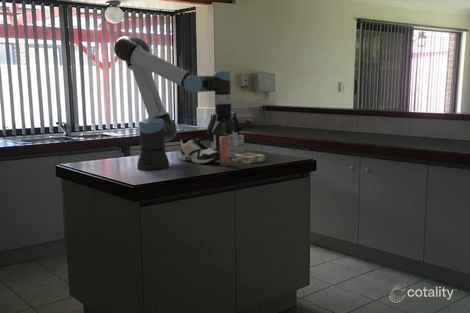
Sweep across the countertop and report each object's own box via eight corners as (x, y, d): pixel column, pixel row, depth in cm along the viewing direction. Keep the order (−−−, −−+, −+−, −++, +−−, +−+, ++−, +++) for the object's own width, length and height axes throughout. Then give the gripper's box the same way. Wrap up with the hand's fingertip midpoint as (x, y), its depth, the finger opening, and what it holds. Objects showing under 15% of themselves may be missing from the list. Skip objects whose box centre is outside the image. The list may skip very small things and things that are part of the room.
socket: (247, 163, 239) (247, 157, 239) (232, 160, 248) (232, 154, 248) (265, 160, 247) (265, 155, 246) (249, 158, 256) (249, 152, 255)
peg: (223, 165, 233) (223, 137, 231) (218, 164, 236) (218, 136, 234) (229, 164, 236) (229, 136, 234) (224, 163, 239) (224, 136, 237)
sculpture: (238, 152, 275) (238, 100, 270) (221, 155, 264) (221, 101, 260) (224, 151, 282) (223, 100, 278) (207, 153, 272) (206, 100, 267)
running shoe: (209, 166, 233) (209, 142, 231) (171, 160, 254) (170, 137, 252) (225, 163, 241) (225, 140, 239) (187, 157, 262) (186, 135, 260)
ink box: (244, 155, 264) (244, 134, 262) (243, 157, 259) (243, 135, 257) (228, 155, 264) (228, 134, 263) (227, 157, 260) (227, 135, 258)
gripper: (207, 104, 221) (208, 150, 224) (247, 102, 236) (248, 144, 240) (197, 104, 226) (199, 149, 230) (238, 102, 242) (239, 143, 245)
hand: (224, 147), depth 235 cm, fingers open, 13 cm apart
